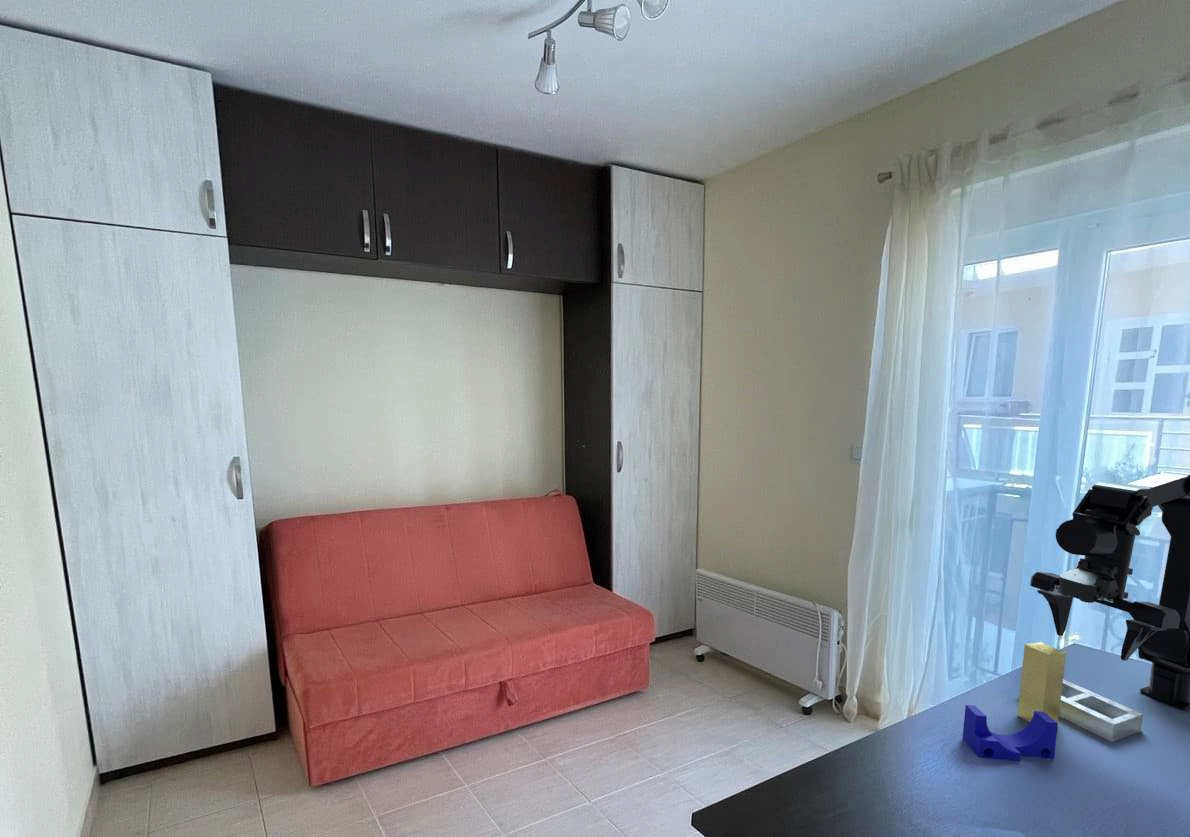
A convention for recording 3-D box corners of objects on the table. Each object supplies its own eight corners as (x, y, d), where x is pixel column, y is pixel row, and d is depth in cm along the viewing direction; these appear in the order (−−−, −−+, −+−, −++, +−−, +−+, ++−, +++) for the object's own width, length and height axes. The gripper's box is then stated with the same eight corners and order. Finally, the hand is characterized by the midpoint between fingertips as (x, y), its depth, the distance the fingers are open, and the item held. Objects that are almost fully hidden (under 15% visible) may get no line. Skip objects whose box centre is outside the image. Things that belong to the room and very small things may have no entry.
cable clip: (978, 758, 87) (982, 721, 87) (962, 740, 92) (965, 704, 91) (1060, 766, 86) (1065, 728, 86) (1040, 747, 91) (1044, 711, 90)
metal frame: (1048, 688, 109) (1050, 673, 109) (1141, 731, 96) (1143, 714, 96) (1019, 696, 106) (1021, 681, 105) (1111, 742, 93) (1113, 724, 93)
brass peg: (1034, 712, 100) (1041, 642, 100) (1058, 726, 97) (1065, 652, 96) (1017, 715, 99) (1024, 644, 98) (1040, 729, 95) (1048, 655, 95)
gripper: (1019, 539, 102) (1003, 623, 102) (1152, 573, 84) (1132, 675, 85) (1056, 543, 106) (1041, 624, 106) (1190, 577, 89) (1171, 674, 89)
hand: (1090, 647), depth 96 cm, fingers open, 9 cm apart
